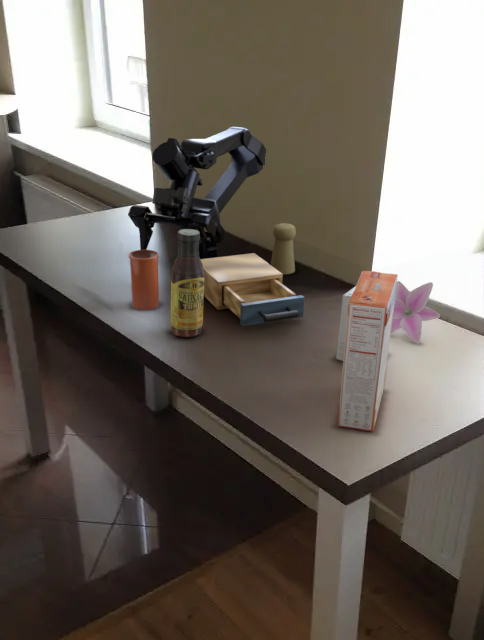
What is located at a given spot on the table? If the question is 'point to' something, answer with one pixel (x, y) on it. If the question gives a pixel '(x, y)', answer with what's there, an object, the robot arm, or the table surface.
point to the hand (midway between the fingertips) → (161, 256)
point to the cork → (283, 248)
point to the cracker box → (366, 349)
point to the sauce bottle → (187, 286)
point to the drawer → (262, 301)
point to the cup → (144, 279)
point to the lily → (412, 310)
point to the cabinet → (234, 274)
